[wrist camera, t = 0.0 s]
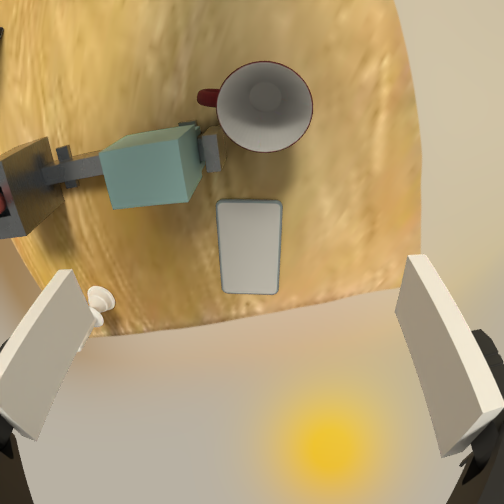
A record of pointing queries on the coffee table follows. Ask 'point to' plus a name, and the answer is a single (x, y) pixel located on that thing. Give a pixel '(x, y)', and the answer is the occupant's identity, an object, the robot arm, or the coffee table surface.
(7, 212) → the gray button box
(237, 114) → the mug
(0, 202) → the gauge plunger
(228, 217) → the smartphone
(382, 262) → the coffee table surface
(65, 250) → the coffee table surface
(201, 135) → the rail
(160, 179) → the block
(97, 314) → the candle
